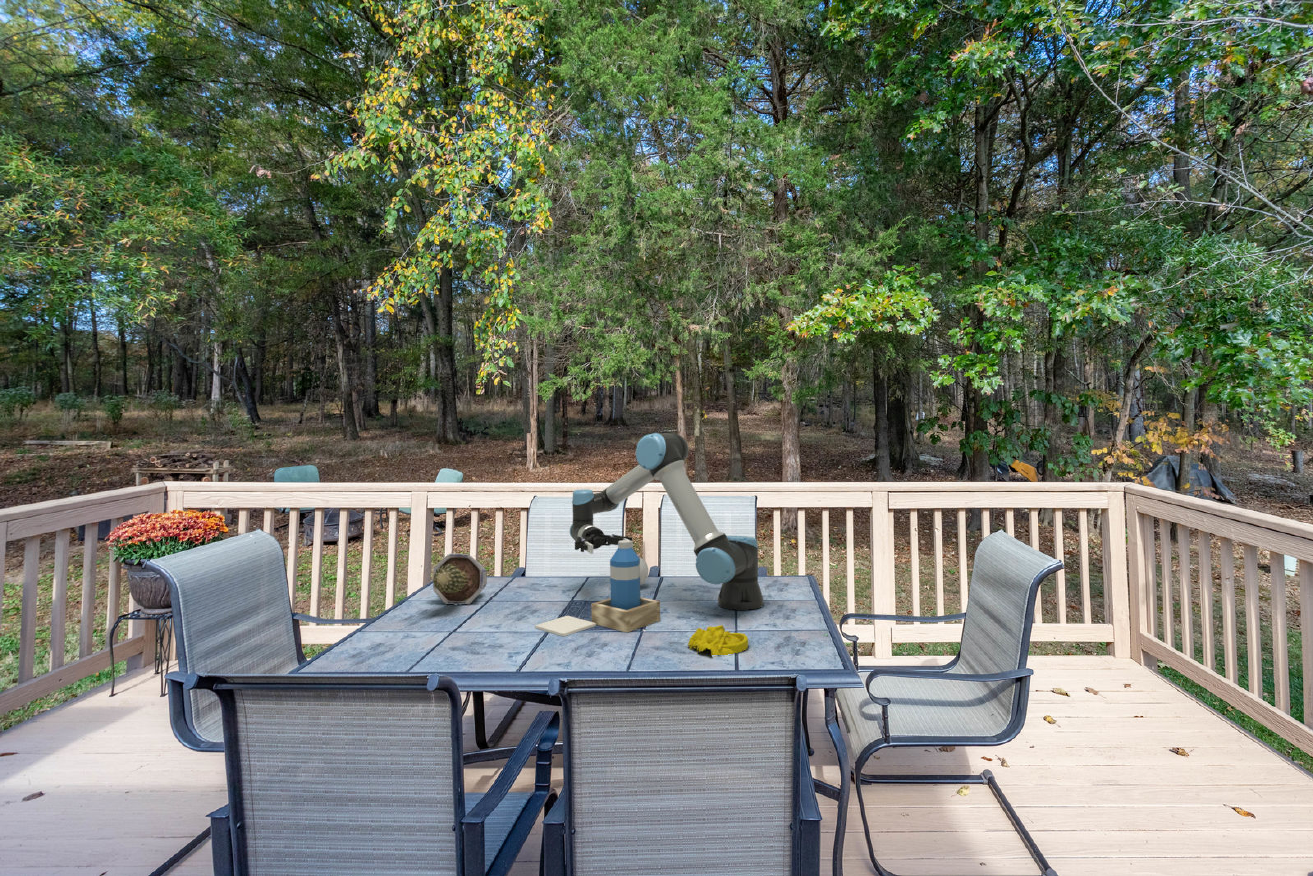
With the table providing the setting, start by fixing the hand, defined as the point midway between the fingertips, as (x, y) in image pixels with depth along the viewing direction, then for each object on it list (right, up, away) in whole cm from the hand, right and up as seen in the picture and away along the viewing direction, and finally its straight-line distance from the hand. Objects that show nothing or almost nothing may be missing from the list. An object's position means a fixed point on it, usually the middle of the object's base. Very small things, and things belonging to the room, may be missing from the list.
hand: (612, 547), depth 211 cm
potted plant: (-54, -22, +13) cm, 60 cm away
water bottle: (+5, -22, -9) cm, 24 cm away
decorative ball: (+5, -21, +34) cm, 41 cm away
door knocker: (+31, -22, -32) cm, 50 cm away
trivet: (-13, -22, -13) cm, 29 cm away
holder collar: (+5, -22, -9) cm, 24 cm away
